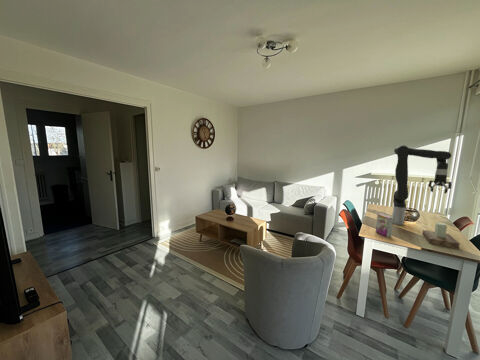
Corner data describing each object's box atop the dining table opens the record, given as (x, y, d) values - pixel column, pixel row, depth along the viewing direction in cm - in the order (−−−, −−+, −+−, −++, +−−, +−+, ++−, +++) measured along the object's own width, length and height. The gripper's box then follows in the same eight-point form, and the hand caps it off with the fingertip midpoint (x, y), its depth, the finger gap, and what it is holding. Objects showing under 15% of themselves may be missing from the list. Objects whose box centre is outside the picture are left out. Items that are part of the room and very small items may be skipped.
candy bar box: (375, 232, 178) (377, 213, 175) (380, 231, 179) (382, 213, 176) (386, 237, 167) (388, 218, 164) (391, 237, 168) (393, 217, 165)
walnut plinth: (429, 243, 156) (430, 238, 155) (422, 234, 173) (423, 230, 172) (458, 248, 148) (459, 243, 147) (448, 238, 165) (448, 233, 165)
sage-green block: (436, 236, 159) (438, 224, 158) (434, 234, 163) (436, 222, 162) (445, 238, 157) (447, 225, 155) (442, 235, 161) (444, 223, 160)
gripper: (431, 173, 181) (428, 191, 182) (453, 175, 173) (451, 194, 174) (429, 173, 187) (427, 191, 188) (451, 175, 180) (448, 193, 181)
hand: (438, 192), depth 181 cm, fingers open, 8 cm apart
